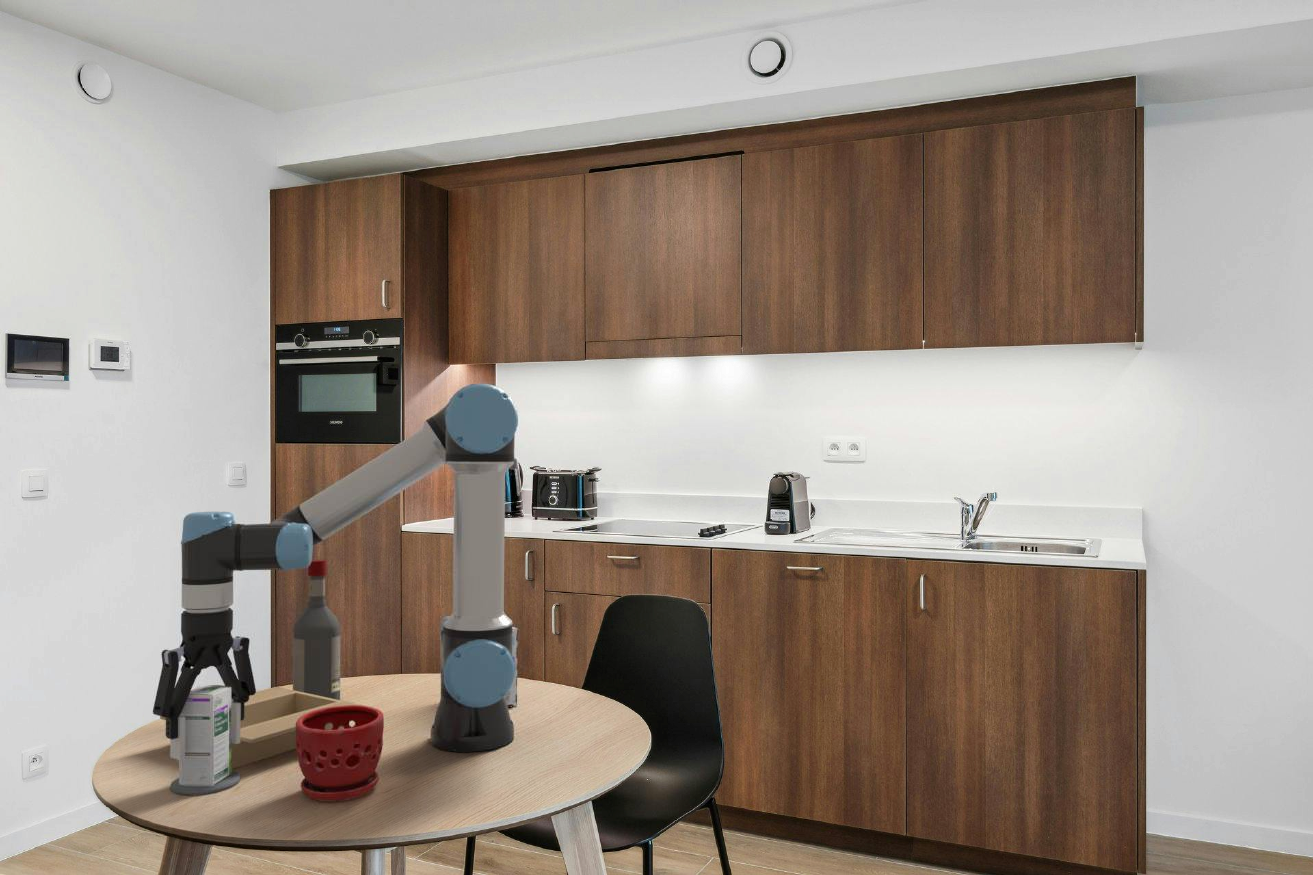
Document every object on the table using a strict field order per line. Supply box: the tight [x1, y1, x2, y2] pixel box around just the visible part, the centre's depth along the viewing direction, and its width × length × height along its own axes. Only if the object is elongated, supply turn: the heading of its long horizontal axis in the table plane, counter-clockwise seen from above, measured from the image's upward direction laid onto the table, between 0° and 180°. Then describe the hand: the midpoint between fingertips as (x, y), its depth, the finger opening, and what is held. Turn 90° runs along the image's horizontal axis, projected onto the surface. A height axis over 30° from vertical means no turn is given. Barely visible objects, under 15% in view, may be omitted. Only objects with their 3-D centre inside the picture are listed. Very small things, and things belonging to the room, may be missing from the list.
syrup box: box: [178, 684, 233, 786], centre depth 151 cm, size 6×6×14 cm
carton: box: [159, 686, 366, 769], centre depth 172 cm, size 26×24×6 cm
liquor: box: [292, 558, 342, 700], centre depth 199 cm, size 9×9×30 cm
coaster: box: [170, 770, 241, 796], centre depth 151 cm, size 10×10×1 cm
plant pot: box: [296, 704, 385, 803], centre depth 148 cm, size 13×13×12 cm
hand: (206, 749), depth 151 cm, fingers open, 9 cm apart
